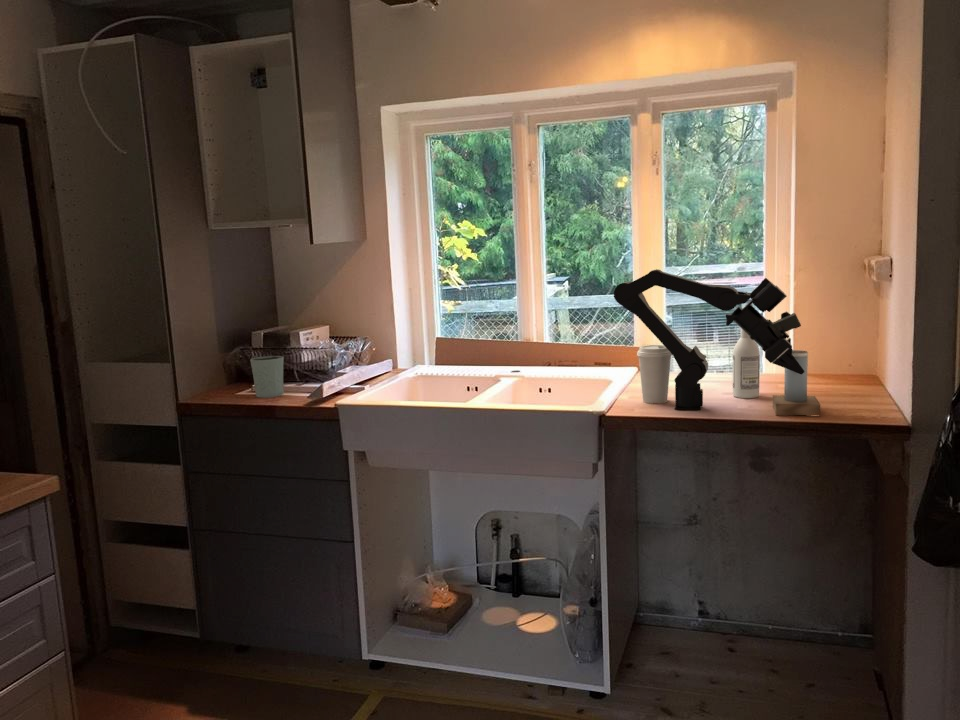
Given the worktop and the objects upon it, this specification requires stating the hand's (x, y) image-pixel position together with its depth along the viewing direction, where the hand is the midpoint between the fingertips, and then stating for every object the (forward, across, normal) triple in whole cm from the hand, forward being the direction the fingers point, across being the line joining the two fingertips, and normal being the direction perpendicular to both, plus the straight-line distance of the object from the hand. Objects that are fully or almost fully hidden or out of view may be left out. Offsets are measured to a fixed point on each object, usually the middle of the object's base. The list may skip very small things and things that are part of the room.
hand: (802, 369), depth 190 cm
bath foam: (-2, +17, +17) cm, 24 cm away
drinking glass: (-103, -1, +119) cm, 157 cm away
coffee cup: (-18, +7, +34) cm, 39 cm away
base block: (+6, 0, +8) cm, 11 cm away
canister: (+4, 0, +6) cm, 8 cm away
